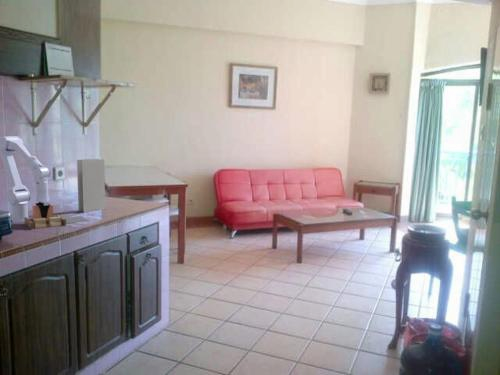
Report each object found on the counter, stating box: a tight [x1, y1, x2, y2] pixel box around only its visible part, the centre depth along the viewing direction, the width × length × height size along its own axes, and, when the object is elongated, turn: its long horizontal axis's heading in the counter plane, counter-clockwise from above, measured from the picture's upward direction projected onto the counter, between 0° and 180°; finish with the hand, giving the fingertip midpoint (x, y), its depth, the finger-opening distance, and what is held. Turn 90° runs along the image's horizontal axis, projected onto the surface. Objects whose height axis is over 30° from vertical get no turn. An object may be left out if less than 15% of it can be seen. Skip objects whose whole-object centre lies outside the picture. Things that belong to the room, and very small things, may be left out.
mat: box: [63, 215, 90, 225], centre depth 240 cm, size 14×12×1 cm
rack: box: [24, 213, 67, 230], centre depth 228 cm, size 15×16×4 cm
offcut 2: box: [49, 216, 62, 227], centre depth 226 cm, size 3×5×4 cm, turn 128°
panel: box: [32, 203, 54, 222], centre depth 230 cm, size 3×9×9 cm, turn 128°
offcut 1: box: [32, 218, 46, 229], centre depth 222 cm, size 3×5×4 cm, turn 127°
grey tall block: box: [76, 158, 106, 213], centre depth 265 cm, size 14×6×30 cm, turn 141°
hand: (43, 217), depth 230 cm, fingers closed on panel, 3 cm apart
